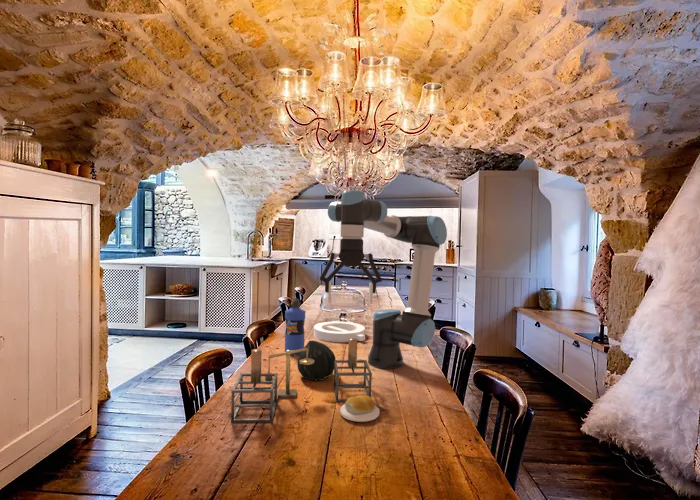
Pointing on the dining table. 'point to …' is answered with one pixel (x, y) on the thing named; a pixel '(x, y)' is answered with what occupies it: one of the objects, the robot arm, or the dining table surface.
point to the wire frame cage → (254, 389)
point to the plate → (359, 415)
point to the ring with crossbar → (339, 331)
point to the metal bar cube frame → (352, 365)
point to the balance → (288, 372)
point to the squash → (317, 361)
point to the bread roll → (360, 404)
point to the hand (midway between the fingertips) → (350, 302)
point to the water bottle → (294, 327)
